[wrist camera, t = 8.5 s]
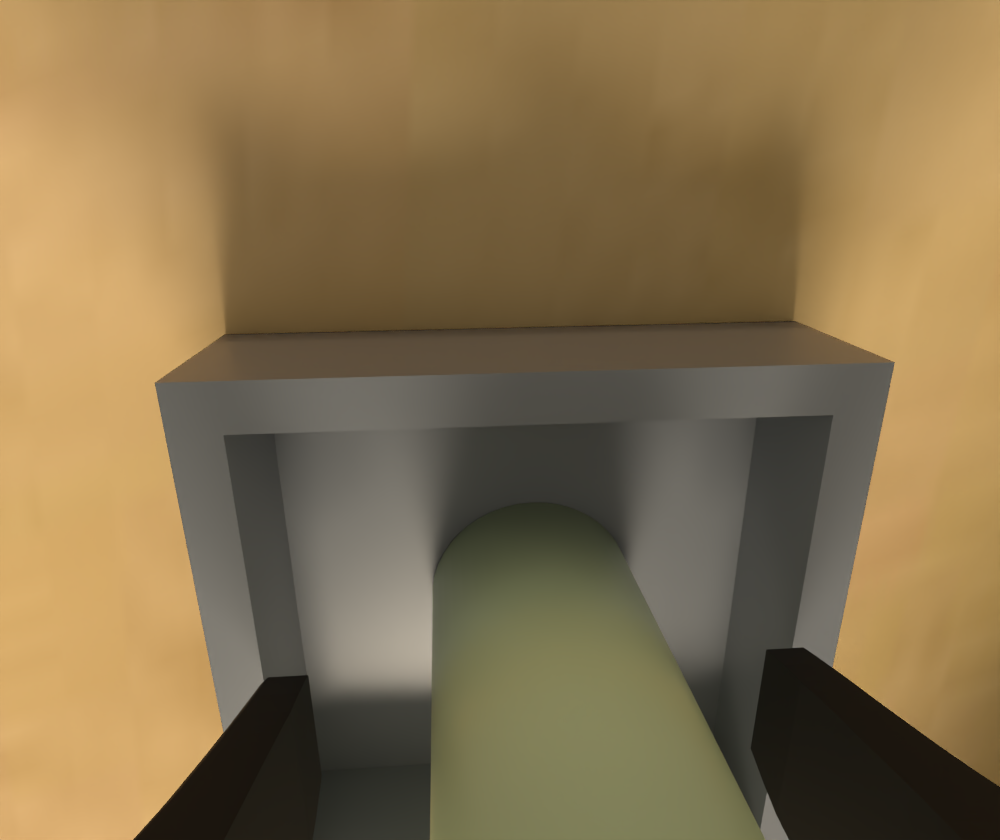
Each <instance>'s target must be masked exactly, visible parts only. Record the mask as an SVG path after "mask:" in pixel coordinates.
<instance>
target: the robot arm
mask: <svg viewBox="0 0 1000 840" xmlns="http://www.w3.org/2000/svg"><path fill="white" fill-rule="evenodd" d="M751 751H752V754H753V756H754V759H755V762H756V764H757V767H758V770H759V772H760V775H761V778H762V780H763V783H764V786H765V788H766V791H767V793H768V796H769V798H770V800H771V803H772V805H773V808H774V810H775V813H776V815H777V817H778V819H779V821H780V823H781V825H782V827H783V829H784V831H785V833H786V835H787V837H788V839H789V840H1000V787H999V786H997V785H996V784H994V783H993V782H991V781H990V780H988V779H987V778H985V777H984V776H982V775H981V774H979V773H978V772H976V771H975V770H973V769H972V768H970V767H969V766H967V765H966V764H964V763H963V762H962V761H960V760H959V759H957V758H956V757H954V756H953V755H951V754H950V753H948V752H947V751H946V750H944V749H943V748H941V747H940V746H939V745H937V744H936V743H934V742H933V741H932V740H930V739H929V738H927V737H926V736H925V735H923V734H922V733H920V732H919V731H918V730H916V729H915V728H913V727H912V726H911V725H909V724H908V723H907V722H905V721H904V720H902V719H901V718H900V717H898V716H897V715H896V714H894V713H893V712H892V711H890V710H889V709H887V708H886V707H885V706H883V705H882V704H881V703H879V702H878V701H877V700H875V699H874V698H873V697H871V696H870V695H869V694H867V693H866V692H864V691H863V690H862V689H860V688H859V687H858V686H856V685H855V684H854V683H852V682H851V681H850V680H848V679H847V678H846V677H844V676H843V675H842V674H840V673H839V672H838V671H836V670H835V669H833V668H832V667H831V666H829V665H828V664H827V663H825V662H824V661H822V660H821V659H820V658H818V657H817V656H815V655H814V654H812V653H811V652H809V651H808V650H807V649H805V648H804V647H801V648H783V649H766V655H765V661H764V667H763V674H762V680H761V686H760V692H759V699H758V705H757V711H756V717H755V724H754V730H753V736H752V742H751ZM321 779H322V774H321V766H320V759H319V752H318V744H317V737H316V729H315V722H314V714H313V707H312V700H311V692H310V685H309V677H308V675H301V676H283V677H268V678H267V679H266V680H265V681H264V682H263V683H261V685H260V686H259V687H258V689H257V690H256V691H255V693H254V694H253V695H252V696H251V698H250V699H249V700H248V702H247V703H246V704H245V706H244V707H243V708H242V710H241V711H240V712H239V714H238V715H237V716H236V717H235V719H234V720H233V721H232V723H231V724H230V725H229V726H228V728H227V729H226V730H225V732H224V733H223V734H222V735H221V737H220V738H219V739H218V740H217V742H216V743H215V744H214V746H213V747H212V748H211V749H210V751H209V752H208V753H207V754H206V756H205V757H204V758H203V759H202V760H201V762H200V763H199V764H198V765H197V766H196V768H195V769H194V770H193V771H192V773H191V774H190V775H189V776H188V777H187V779H186V780H185V781H184V782H183V783H182V785H181V786H180V787H179V788H178V789H177V791H176V792H175V793H174V794H173V795H172V797H171V798H170V799H169V800H168V801H167V803H166V804H165V805H164V806H163V807H162V808H161V809H160V811H159V812H158V813H157V814H156V815H155V816H154V817H153V818H152V820H151V821H150V822H149V823H148V824H147V825H146V826H145V827H144V828H143V830H142V831H141V832H140V833H139V834H138V835H137V836H136V837H135V838H134V840H313V834H314V828H315V821H316V815H317V808H318V800H319V793H320V786H321Z"/></svg>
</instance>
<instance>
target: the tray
mask: <svg viewBox="0 0 1000 840" xmlns="http://www.w3.org/2000/svg"><path fill="white" fill-rule="evenodd" d="M894 363H895V362H893V361H890V360H888V359H885V358H883V357H880V356H878V355H876V354H873V353H871V352H868V351H866V350H863V349H861V348H859V347H856V346H854V345H851V344H849V343H847V342H844V341H842V340H839V339H837V338H834V337H832V336H830V335H827V334H825V333H822V332H820V331H817V330H815V329H813V328H810V327H808V326H805V325H803V324H801V323H798V322H796V321H784V322H741V323H698V324H656V325H613V326H570V327H527V328H485V329H442V330H399V331H356V332H314V333H271V334H228V335H223V336H222V337H221V338H219V339H218V340H216V341H215V342H213V343H212V344H210V345H209V346H208V347H206V348H205V349H203V350H202V351H200V352H199V353H197V354H196V355H194V356H193V357H192V358H190V359H189V360H187V361H186V362H184V363H183V364H181V365H180V366H179V367H177V368H176V369H174V370H173V371H171V372H170V373H168V374H167V375H166V376H164V377H163V378H161V379H160V380H158V381H157V382H155V386H156V391H157V396H158V401H159V407H160V412H161V417H162V422H163V427H164V432H165V437H166V442H167V447H168V452H169V457H170V462H171V468H172V473H173V478H174V483H175V488H176V493H177V498H178V503H179V508H180V513H181V518H182V523H183V529H184V534H185V539H186V544H187V549H188V554H189V559H190V564H191V569H192V574H193V579H194V584H195V589H196V595H197V600H198V605H199V610H200V615H201V620H202V625H203V630H204V635H205V640H206V645H207V650H208V656H209V661H210V666H211V671H212V676H213V681H214V686H215V691H216V696H217V701H218V706H219V711H220V716H221V722H222V727H223V732H225V730H226V729H227V728H228V726H229V725H230V724H231V723H232V721H233V720H234V719H235V717H236V716H237V715H238V714H239V712H240V711H241V710H242V708H243V707H244V706H245V704H246V703H247V702H248V700H249V699H250V698H251V696H252V695H253V694H254V693H255V691H256V690H257V689H258V687H259V686H260V685H261V683H263V682H264V681H265V680H266V679H267V678H268V677H283V676H301V675H308V677H309V685H310V692H311V700H312V707H313V714H314V722H315V729H316V737H317V744H318V752H319V759H320V766H321V774H322V779H321V786H320V793H319V800H318V808H317V815H316V821H315V828H314V834H313V840H430V798H431V704H432V611H433V582H434V576H435V573H436V570H437V566H438V564H439V562H440V560H441V558H442V555H443V553H444V552H445V550H446V549H447V548H448V546H449V545H450V543H451V542H452V541H453V540H454V539H455V538H456V536H457V535H458V534H459V533H460V532H461V531H463V530H464V529H465V528H466V527H467V526H468V525H470V524H471V523H473V522H474V521H476V520H477V519H479V518H480V517H482V516H484V515H486V514H488V513H490V512H493V511H495V510H498V509H501V508H504V507H507V506H512V505H516V504H523V503H552V504H558V505H562V506H566V507H570V508H573V509H575V510H578V511H580V512H582V513H584V514H586V515H588V516H590V517H591V518H593V519H594V520H596V521H597V522H598V523H600V524H601V525H602V526H603V527H604V528H605V529H606V530H607V531H608V532H609V533H610V534H611V536H612V537H613V538H614V540H615V541H616V542H617V544H618V546H619V548H620V550H621V552H622V554H623V556H624V558H625V560H626V562H627V564H628V566H629V568H630V570H631V572H632V574H633V576H634V578H635V580H636V582H637V584H638V586H639V588H640V590H641V592H642V594H643V596H644V598H645V600H646V602H647V604H648V606H649V608H650V610H651V612H652V614H653V616H654V618H655V620H656V622H657V624H658V626H659V628H660V630H661V632H662V634H663V636H664V638H665V640H666V642H667V644H668V646H669V648H670V650H671V652H672V654H673V656H674V658H675V660H676V662H677V664H678V666H679V668H680V670H681V672H682V674H683V676H684V678H685V680H686V682H687V684H688V686H689V688H690V690H691V692H692V694H693V696H694V698H695V700H696V702H697V704H698V706H699V708H700V710H701V712H702V714H703V716H704V718H705V720H706V722H707V724H708V726H709V728H710V730H711V732H712V734H713V736H714V738H715V740H716V742H717V744H718V746H719V748H720V750H721V752H722V754H723V756H724V758H725V760H726V762H727V764H728V766H729V768H730V770H731V772H732V774H733V776H734V778H735V780H736V782H737V784H738V786H739V788H740V790H741V792H742V794H743V796H744V798H745V800H746V802H747V804H748V806H749V808H750V810H751V812H752V814H753V816H754V818H755V820H756V822H757V824H758V826H759V828H760V830H761V832H762V834H763V836H764V838H765V840H789V839H788V837H787V835H786V833H785V831H784V829H783V827H782V825H781V823H780V821H779V819H778V817H777V815H776V813H775V810H774V808H773V805H772V803H771V800H770V798H769V796H768V793H767V791H766V788H765V786H764V783H763V780H762V778H761V775H760V772H759V770H758V767H757V764H756V762H755V759H754V756H753V754H752V751H751V742H752V736H753V730H754V724H755V717H756V711H757V705H758V699H759V692H760V686H761V680H762V674H763V667H764V661H765V655H766V649H783V648H801V647H804V648H805V649H807V650H808V651H809V652H811V653H812V654H814V655H815V656H817V657H818V658H820V659H821V660H822V661H824V662H825V663H827V664H828V665H829V666H831V667H833V662H834V657H835V652H836V647H837V642H838V637H839V632H840V627H841V623H842V618H843V613H844V608H845V603H846V598H847V593H848V588H849V583H850V578H851V574H852V569H853V564H854V559H855V554H856V549H857V544H858V539H859V534H860V529H861V525H862V520H863V515H864V510H865V505H866V500H867V495H868V490H869V485H870V480H871V476H872V471H873V466H874V461H875V456H876V451H877V446H878V441H879V436H880V431H881V427H882V422H883V417H884V412H885V407H886V402H887V397H888V392H889V387H890V382H891V377H892V373H893V368H894Z"/></svg>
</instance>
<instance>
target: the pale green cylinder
mask: <svg viewBox="0 0 1000 840" xmlns="http://www.w3.org/2000/svg"><path fill="white" fill-rule="evenodd" d="M430 840H765V838H764V836H763V834H762V832H761V830H760V828H759V826H758V824H757V822H756V820H755V818H754V816H753V814H752V812H751V810H750V808H749V806H748V804H747V802H746V800H745V798H744V796H743V794H742V792H741V790H740V788H739V786H738V784H737V782H736V780H735V778H734V776H733V774H732V772H731V770H730V768H729V766H728V764H727V762H726V760H725V758H724V756H723V754H722V752H721V750H720V748H719V746H718V744H717V742H716V740H715V738H714V736H713V734H712V732H711V730H710V728H709V726H708V724H707V722H706V720H705V718H704V716H703V714H702V712H701V710H700V708H699V706H698V704H697V702H696V700H695V698H694V696H693V694H692V692H691V690H690V688H689V686H688V684H687V682H686V680H685V678H684V676H683V674H682V672H681V670H680V668H679V666H678V664H677V662H676V660H675V658H674V656H673V654H672V652H671V650H670V648H669V646H668V644H667V642H666V640H665V638H664V636H663V634H662V632H661V630H660V628H659V626H658V624H657V622H656V620H655V618H654V616H653V614H652V612H651V610H650V608H649V606H648V604H647V602H646V600H645V598H644V596H643V594H642V592H641V590H640V588H639V586H638V584H637V582H636V580H635V578H634V576H633V574H632V572H631V570H630V568H629V566H628V564H627V562H626V560H625V558H624V556H623V554H622V552H621V550H620V548H619V546H618V544H617V542H616V541H615V540H614V538H613V537H612V536H611V534H610V533H609V532H608V531H607V530H606V529H605V528H604V527H603V526H602V525H601V524H600V523H598V522H597V521H596V520H594V519H593V518H591V517H590V516H588V515H586V514H584V513H582V512H580V511H578V510H575V509H573V508H570V507H566V506H562V505H558V504H552V503H523V504H516V505H512V506H507V507H504V508H501V509H498V510H495V511H493V512H490V513H488V514H486V515H484V516H482V517H480V518H479V519H477V520H476V521H474V522H473V523H471V524H470V525H468V526H467V527H466V528H465V529H464V530H463V531H461V532H460V533H459V534H458V535H457V536H456V538H455V539H454V540H453V541H452V542H451V543H450V545H449V546H448V548H447V549H446V550H445V552H444V553H443V555H442V558H441V560H440V562H439V564H438V566H437V570H436V573H435V576H434V582H433V611H432V704H431V798H430Z"/></svg>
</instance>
